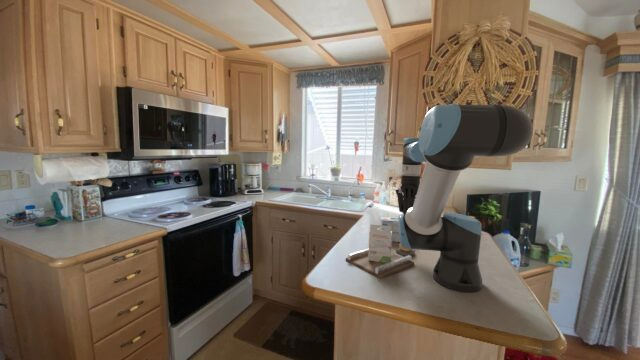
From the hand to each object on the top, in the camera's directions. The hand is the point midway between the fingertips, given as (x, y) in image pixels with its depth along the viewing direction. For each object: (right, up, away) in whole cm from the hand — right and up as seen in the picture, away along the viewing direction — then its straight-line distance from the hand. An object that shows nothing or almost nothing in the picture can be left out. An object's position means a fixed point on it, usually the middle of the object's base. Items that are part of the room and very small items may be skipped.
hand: (407, 229), depth 113 cm
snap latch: (0, -9, +2) cm, 9 cm away
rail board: (-14, -12, -8) cm, 20 cm away
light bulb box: (-2, -9, +19) cm, 21 cm away
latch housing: (0, -11, +2) cm, 11 cm away
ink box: (-14, -11, -8) cm, 19 cm away
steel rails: (-14, -12, -8) cm, 20 cm away
